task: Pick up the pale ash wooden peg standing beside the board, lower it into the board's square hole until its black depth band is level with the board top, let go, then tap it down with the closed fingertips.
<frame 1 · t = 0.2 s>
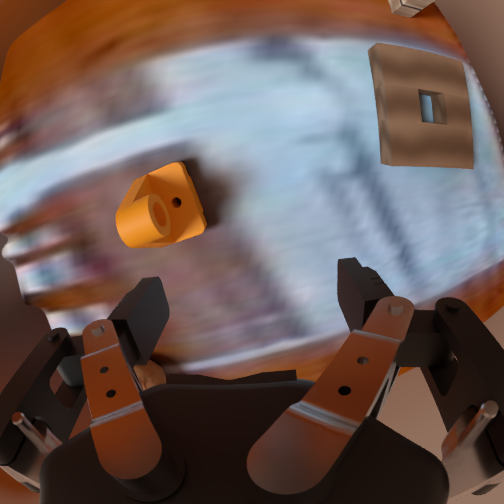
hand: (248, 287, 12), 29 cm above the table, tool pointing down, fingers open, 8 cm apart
bracket: (175, 201, 41), on the table
board: (420, 108, 33), on the table
onion: (150, 366, 53), on the table
peg: (399, 7, 26), on the table
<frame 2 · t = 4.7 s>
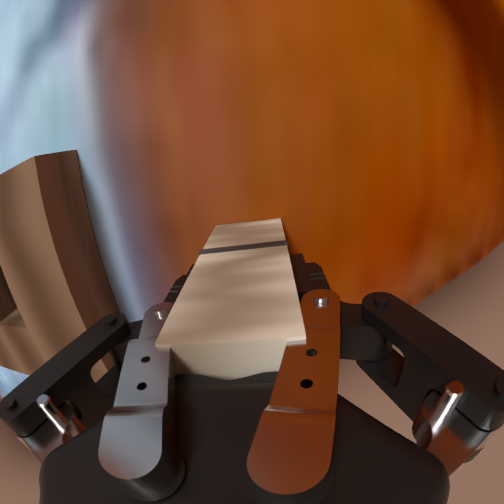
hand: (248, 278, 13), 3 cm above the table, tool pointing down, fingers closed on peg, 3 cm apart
board: (27, 275, 18), on the table
peg: (252, 252, 16), on the table, touching gripper
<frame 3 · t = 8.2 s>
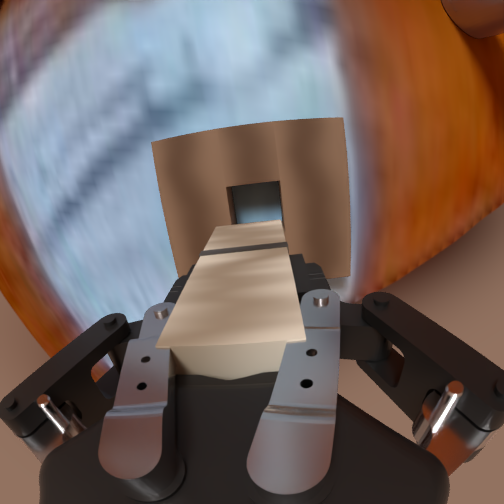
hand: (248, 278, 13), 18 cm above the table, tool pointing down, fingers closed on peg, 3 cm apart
board: (256, 201, 30), on the table
peg: (252, 253, 16), point 15 cm above the table, touching gripper
when the fingers open (5 cm above the table, at t = 11.7 s): peg drops 2 cm, resting in board.
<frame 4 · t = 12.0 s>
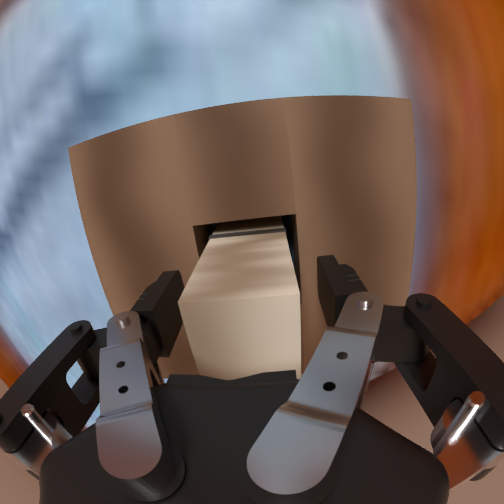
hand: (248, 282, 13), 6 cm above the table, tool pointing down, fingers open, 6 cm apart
board: (252, 240, 18), on the table
peg: (253, 241, 18), resting in board
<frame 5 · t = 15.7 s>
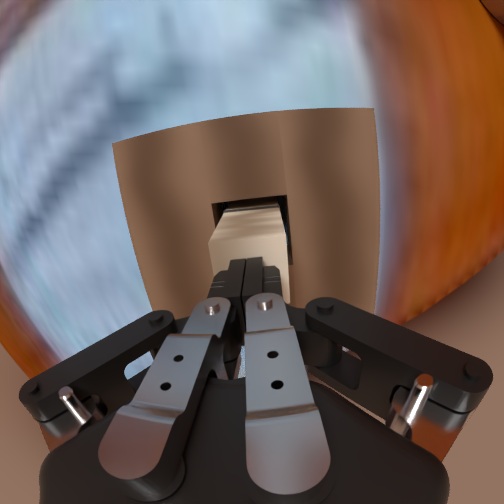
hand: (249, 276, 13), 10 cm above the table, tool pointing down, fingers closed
board: (255, 219, 23), on the table
peg: (255, 219, 23), resting in board
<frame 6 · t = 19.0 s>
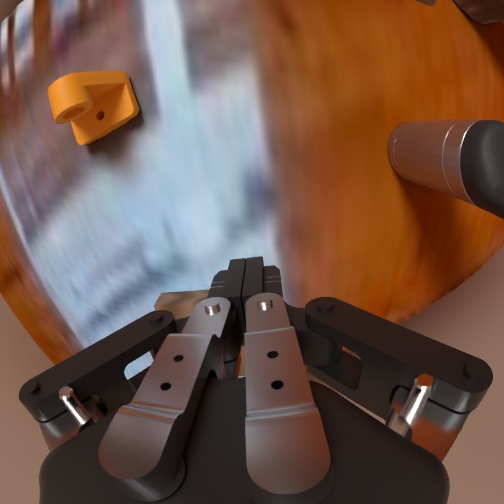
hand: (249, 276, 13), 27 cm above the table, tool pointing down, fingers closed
bracket: (107, 110, 34), on the table
board: (221, 329, 47), on the table
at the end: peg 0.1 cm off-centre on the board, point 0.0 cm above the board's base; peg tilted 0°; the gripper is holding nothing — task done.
